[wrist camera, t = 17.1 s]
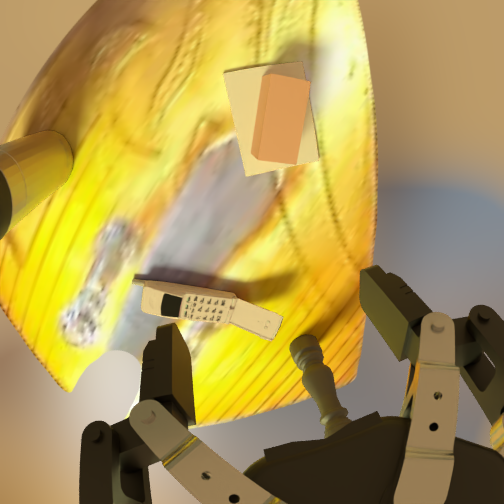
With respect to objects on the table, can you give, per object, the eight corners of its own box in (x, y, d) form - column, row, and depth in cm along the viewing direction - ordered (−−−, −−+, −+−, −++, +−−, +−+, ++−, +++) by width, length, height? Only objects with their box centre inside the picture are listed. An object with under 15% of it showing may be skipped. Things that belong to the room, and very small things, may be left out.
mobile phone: (273, 342, 51) (126, 324, 43) (266, 320, 56) (131, 302, 48) (285, 315, 48) (128, 294, 41) (276, 295, 53) (133, 273, 46)
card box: (262, 76, 35) (271, 73, 31) (297, 83, 36) (310, 81, 32) (250, 153, 40) (257, 160, 36) (285, 157, 41) (296, 164, 37)
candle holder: (312, 353, 63) (354, 449, 42) (286, 355, 62) (323, 457, 40) (320, 333, 60) (369, 433, 39) (293, 335, 59) (336, 441, 37)
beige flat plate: (245, 176, 42) (246, 176, 41) (222, 73, 34) (223, 73, 34) (317, 160, 42) (319, 160, 42) (301, 61, 35) (302, 61, 34)
